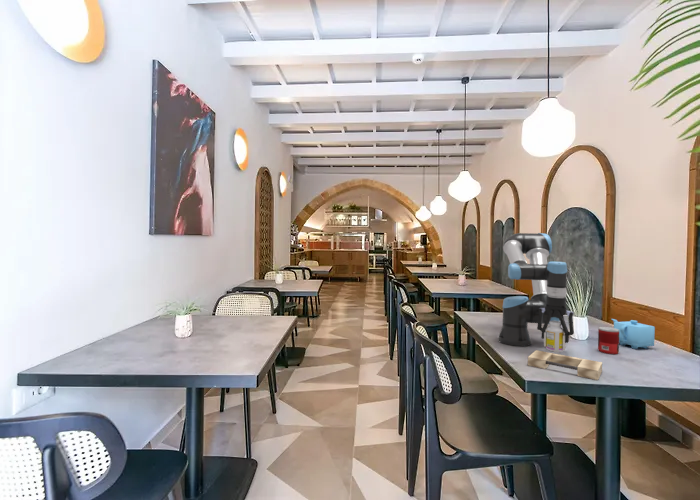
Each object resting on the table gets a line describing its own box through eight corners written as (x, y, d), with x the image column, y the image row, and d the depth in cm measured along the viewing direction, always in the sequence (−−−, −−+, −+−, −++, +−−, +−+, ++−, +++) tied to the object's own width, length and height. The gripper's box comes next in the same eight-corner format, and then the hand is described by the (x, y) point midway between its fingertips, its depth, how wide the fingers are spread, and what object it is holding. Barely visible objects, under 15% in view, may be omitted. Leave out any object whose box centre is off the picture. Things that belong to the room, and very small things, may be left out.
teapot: (658, 348, 177) (658, 322, 176) (633, 350, 173) (634, 323, 173) (622, 339, 194) (622, 315, 194) (599, 340, 190) (599, 316, 190)
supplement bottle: (561, 348, 163) (562, 320, 163) (564, 353, 157) (565, 324, 156) (544, 347, 165) (545, 319, 165) (547, 351, 159) (548, 322, 159)
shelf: (527, 365, 149) (527, 356, 149) (535, 358, 159) (536, 350, 159) (597, 380, 134) (598, 370, 134) (602, 371, 143) (602, 362, 143)
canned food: (622, 355, 165) (622, 331, 165) (602, 353, 167) (603, 330, 167) (613, 350, 173) (614, 327, 173) (594, 349, 174) (595, 326, 174)
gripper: (529, 295, 164) (528, 345, 165) (580, 300, 151) (578, 354, 152) (534, 293, 169) (532, 341, 170) (583, 298, 157) (581, 350, 158)
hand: (554, 347), depth 161 cm, fingers closed on supplement bottle, 7 cm apart
